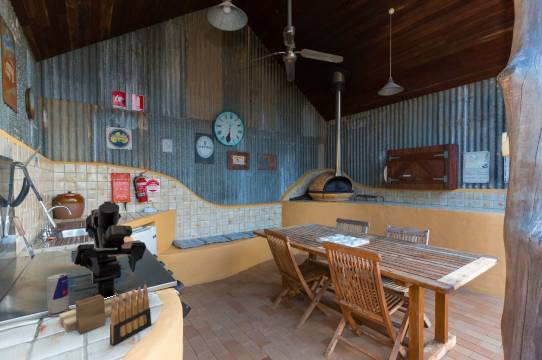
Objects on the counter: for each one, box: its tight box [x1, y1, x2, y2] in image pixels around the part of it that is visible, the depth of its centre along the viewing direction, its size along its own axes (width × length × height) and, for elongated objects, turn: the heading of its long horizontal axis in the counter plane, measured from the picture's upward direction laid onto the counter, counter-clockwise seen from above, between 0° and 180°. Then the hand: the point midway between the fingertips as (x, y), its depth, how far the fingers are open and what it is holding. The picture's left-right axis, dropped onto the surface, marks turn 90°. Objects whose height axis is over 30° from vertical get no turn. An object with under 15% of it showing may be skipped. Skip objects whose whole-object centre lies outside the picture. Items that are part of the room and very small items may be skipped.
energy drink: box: [46, 272, 70, 318], centre depth 84 cm, size 5×5×12 cm
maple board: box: [58, 289, 143, 333], centre depth 84 cm, size 10×22×2 cm, turn 139°
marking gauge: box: [75, 294, 106, 336], centre depth 78 cm, size 13×6×8 cm, turn 49°
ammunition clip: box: [109, 283, 152, 346], centre depth 71 cm, size 11×2×12 cm, turn 150°
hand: (116, 272), depth 76 cm, fingers open, 9 cm apart
